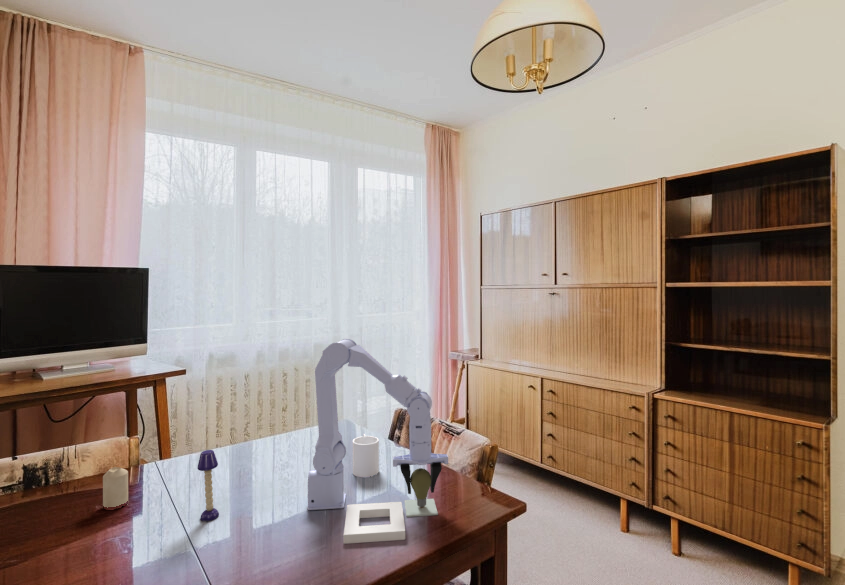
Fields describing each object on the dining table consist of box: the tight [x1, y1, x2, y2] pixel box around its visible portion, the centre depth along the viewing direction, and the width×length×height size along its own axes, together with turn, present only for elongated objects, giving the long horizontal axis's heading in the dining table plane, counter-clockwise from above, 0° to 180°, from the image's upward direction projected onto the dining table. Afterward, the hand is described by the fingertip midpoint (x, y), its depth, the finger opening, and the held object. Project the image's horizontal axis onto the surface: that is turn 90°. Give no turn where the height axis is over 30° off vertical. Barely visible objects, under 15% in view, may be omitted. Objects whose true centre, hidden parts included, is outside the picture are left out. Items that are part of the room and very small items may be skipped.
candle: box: [102, 466, 129, 508], centre depth 116 cm, size 6×6×10 cm
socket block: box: [343, 501, 406, 545], centre depth 106 cm, size 14×14×2 cm
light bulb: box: [410, 467, 431, 508], centre depth 114 cm, size 6×6×10 cm
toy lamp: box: [197, 449, 220, 522], centre depth 110 cm, size 5×5×17 cm
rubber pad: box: [404, 498, 439, 518], centre depth 114 cm, size 8×8×1 cm
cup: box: [352, 433, 380, 478], centre depth 139 cm, size 8×12×10 cm
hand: (420, 491), depth 114 cm, fingers closed on light bulb, 5 cm apart
